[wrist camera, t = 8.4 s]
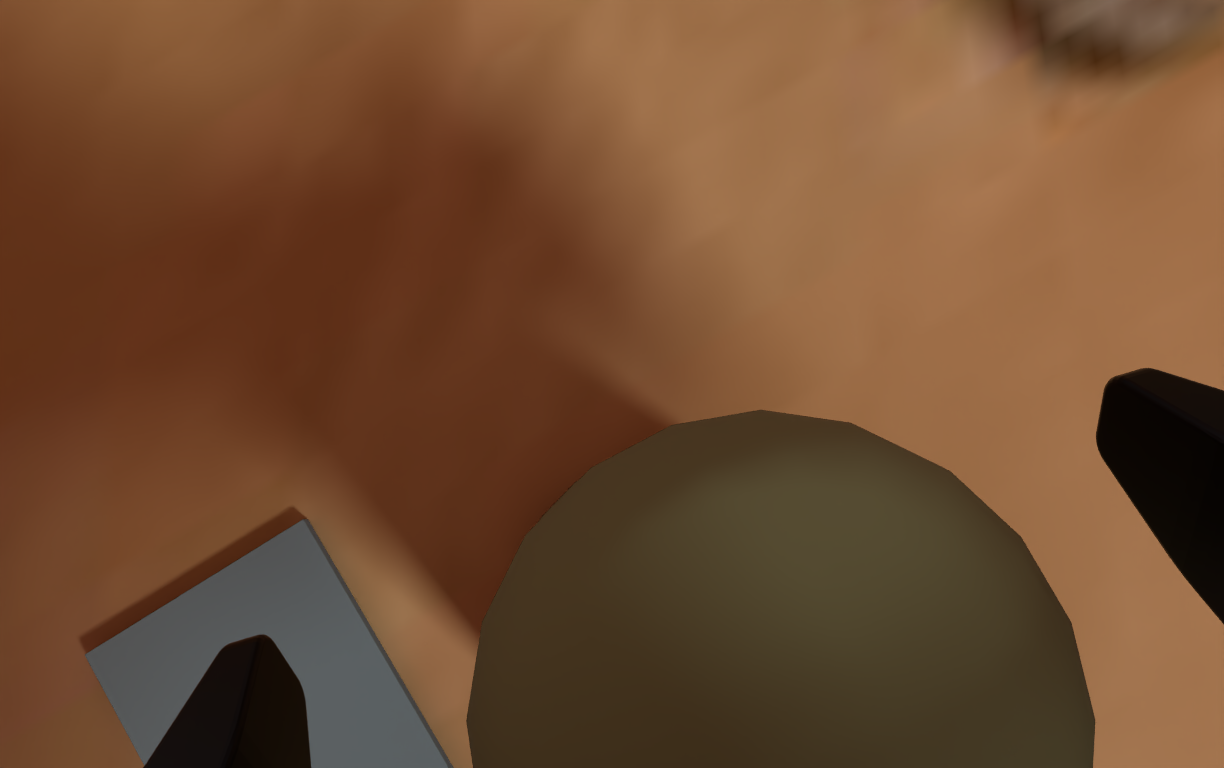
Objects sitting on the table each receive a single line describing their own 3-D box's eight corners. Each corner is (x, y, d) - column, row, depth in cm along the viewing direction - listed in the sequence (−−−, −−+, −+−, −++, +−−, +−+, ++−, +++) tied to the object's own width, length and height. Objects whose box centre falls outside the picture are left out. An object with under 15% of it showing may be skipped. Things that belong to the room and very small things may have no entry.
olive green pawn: (446, 651, 17) (191, 878, 6) (631, 390, 18) (701, 174, 7) (714, 848, 16) (959, 1472, 6) (890, 570, 17) (1400, 644, 6)
